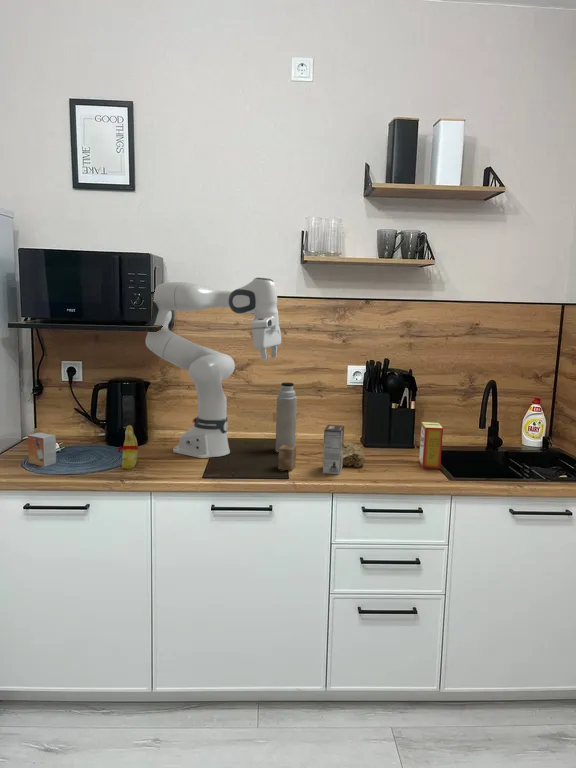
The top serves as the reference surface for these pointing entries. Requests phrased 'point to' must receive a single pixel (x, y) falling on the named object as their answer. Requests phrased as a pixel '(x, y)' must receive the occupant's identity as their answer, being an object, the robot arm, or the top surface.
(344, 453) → the sponge
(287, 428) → the thermos bottle
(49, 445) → the small box
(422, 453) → the baking soda box
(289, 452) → the walnut block
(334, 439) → the coffee box
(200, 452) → the robot arm
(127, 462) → the chocolate bunny
